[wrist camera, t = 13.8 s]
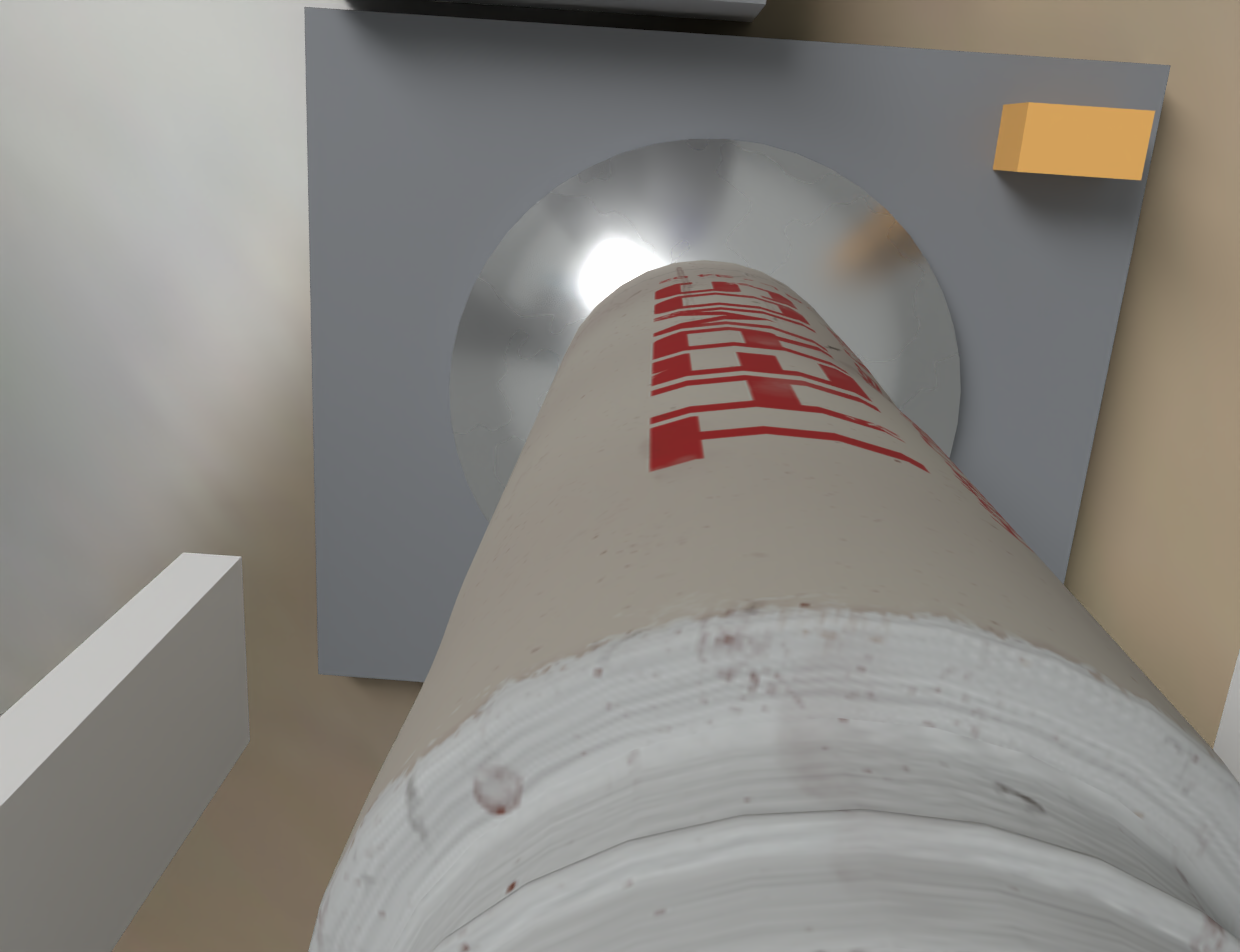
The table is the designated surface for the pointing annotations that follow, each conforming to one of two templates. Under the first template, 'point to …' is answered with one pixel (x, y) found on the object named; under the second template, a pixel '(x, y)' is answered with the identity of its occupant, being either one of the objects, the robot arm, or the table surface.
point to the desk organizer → (647, 7)
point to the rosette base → (686, 258)
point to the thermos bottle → (772, 687)
